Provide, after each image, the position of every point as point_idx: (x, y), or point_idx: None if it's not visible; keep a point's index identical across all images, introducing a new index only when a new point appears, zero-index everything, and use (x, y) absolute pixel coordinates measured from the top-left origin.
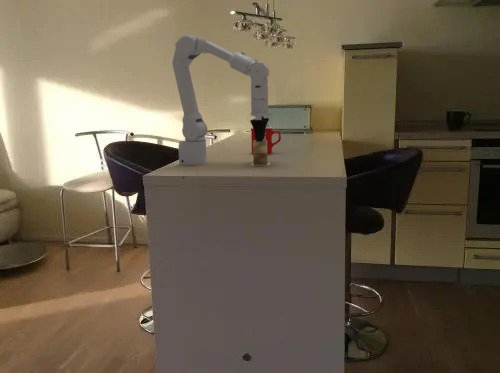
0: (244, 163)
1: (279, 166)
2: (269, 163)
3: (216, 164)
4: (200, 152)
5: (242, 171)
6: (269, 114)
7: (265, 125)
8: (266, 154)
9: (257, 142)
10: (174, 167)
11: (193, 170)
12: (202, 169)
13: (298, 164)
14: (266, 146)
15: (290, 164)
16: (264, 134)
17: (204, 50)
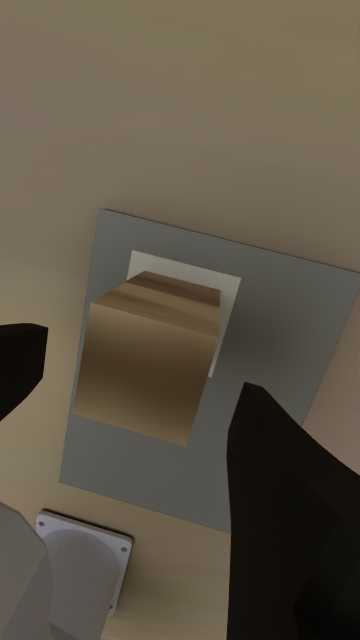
0: (53, 369)
1: (203, 206)
2: (175, 264)
3: (63, 485)
4: (92, 618)
5: (306, 425)
6: (46, 625)
7: (353, 488)
8: (219, 305)
9: (196, 406)
10: (111, 621)
11: (204, 583)
12: (189, 554)
13: (154, 53)
14: (208, 318)
15: (141, 114)
16: (18, 334)
17: None
